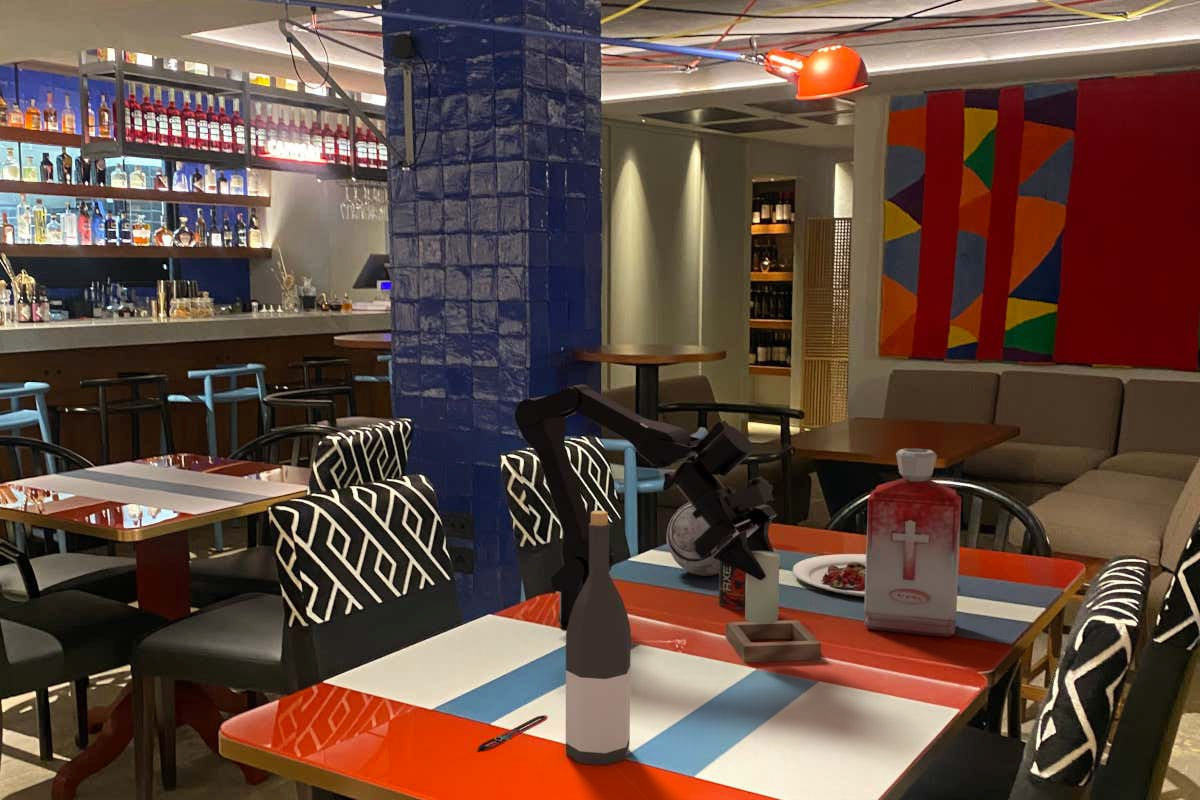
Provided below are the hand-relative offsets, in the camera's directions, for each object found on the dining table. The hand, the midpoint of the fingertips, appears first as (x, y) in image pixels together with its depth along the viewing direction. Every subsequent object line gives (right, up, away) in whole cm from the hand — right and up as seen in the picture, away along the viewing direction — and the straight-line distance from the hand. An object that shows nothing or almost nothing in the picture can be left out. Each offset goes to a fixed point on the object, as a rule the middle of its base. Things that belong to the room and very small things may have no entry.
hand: (770, 574), depth 172 cm
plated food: (+27, -9, +48) cm, 55 cm away
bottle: (+26, -12, +18) cm, 34 cm away
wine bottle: (-26, -17, -32) cm, 45 cm away
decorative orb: (-5, -8, +52) cm, 53 cm away
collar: (+1, -13, +7) cm, 15 cm away
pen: (-37, -17, -26) cm, 48 cm away
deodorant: (-2, -10, +31) cm, 33 cm away
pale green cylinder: (-1, -7, +1) cm, 7 cm away
